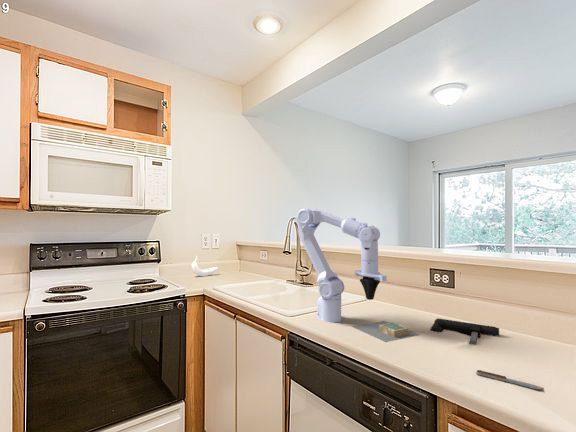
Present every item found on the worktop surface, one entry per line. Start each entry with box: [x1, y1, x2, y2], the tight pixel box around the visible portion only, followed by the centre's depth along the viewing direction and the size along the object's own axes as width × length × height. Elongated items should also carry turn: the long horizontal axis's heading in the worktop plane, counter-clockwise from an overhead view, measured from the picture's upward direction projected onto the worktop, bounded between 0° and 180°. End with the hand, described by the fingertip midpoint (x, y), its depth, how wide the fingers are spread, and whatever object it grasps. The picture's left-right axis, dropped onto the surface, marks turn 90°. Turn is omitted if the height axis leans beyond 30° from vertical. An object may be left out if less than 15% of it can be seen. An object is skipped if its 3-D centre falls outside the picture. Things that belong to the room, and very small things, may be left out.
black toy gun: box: [430, 317, 500, 346], centre depth 113 cm, size 3×20×16 cm
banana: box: [190, 255, 219, 277], centre depth 229 cm, size 5×19×15 cm, turn 134°
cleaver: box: [475, 369, 544, 390], centre depth 81 cm, size 13×2×5 cm
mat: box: [351, 320, 421, 343], centre depth 114 cm, size 17×15×1 cm
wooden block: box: [379, 322, 409, 337], centre depth 112 cm, size 2×6×7 cm
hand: (370, 299), depth 118 cm, fingers closed
